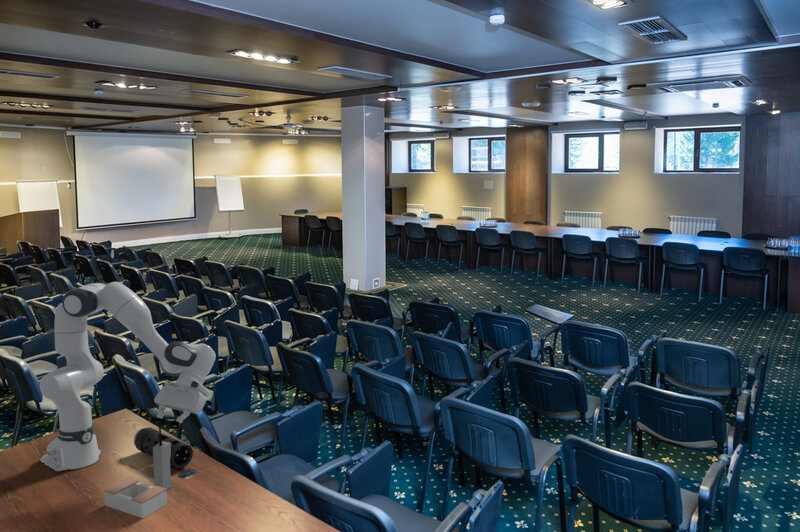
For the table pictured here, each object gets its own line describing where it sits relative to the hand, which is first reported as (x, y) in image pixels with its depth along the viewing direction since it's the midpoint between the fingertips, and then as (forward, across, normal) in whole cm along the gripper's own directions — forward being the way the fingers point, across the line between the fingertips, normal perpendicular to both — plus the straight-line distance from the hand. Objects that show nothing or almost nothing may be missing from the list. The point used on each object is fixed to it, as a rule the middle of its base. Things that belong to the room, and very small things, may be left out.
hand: (168, 419), depth 219 cm
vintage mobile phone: (+20, 0, +15) cm, 25 cm away
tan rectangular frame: (+28, 0, +6) cm, 29 cm away
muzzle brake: (+8, -19, +27) cm, 34 cm away
